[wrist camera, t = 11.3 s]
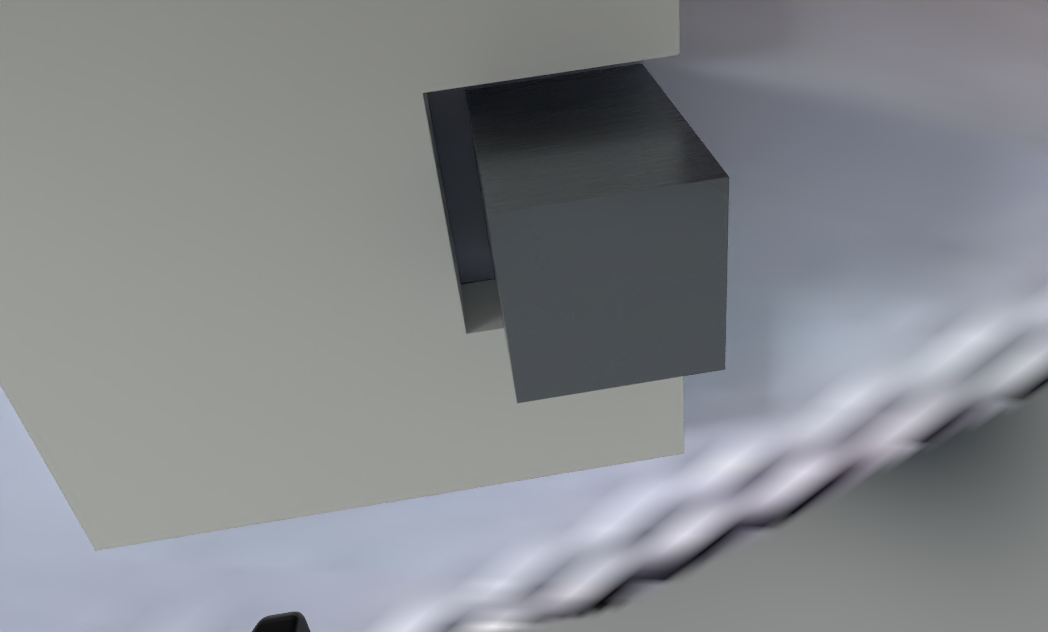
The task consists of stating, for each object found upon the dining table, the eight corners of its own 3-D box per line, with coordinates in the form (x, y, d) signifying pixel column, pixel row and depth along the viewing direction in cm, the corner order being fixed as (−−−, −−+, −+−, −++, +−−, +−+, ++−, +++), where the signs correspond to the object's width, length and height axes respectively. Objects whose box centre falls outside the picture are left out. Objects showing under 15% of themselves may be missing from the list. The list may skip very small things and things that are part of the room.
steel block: (489, 246, 19) (516, 403, 15) (465, 89, 17) (488, 214, 13) (647, 221, 19) (724, 369, 15) (641, 63, 17) (728, 176, 13)
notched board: (119, 489, 22) (95, 550, 20) (-202, -125, 14) (-282, -107, 12) (663, 400, 22) (684, 453, 21) (645, -240, 15) (676, -238, 13)
